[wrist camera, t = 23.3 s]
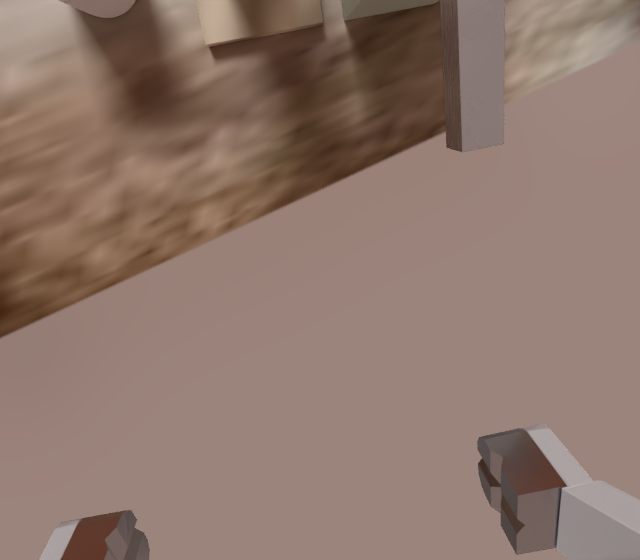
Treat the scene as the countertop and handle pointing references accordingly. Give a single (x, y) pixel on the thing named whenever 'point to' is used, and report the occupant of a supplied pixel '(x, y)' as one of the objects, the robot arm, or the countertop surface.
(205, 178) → the countertop surface
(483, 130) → the hammer
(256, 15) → the stand
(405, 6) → the pale green box
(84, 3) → the can
